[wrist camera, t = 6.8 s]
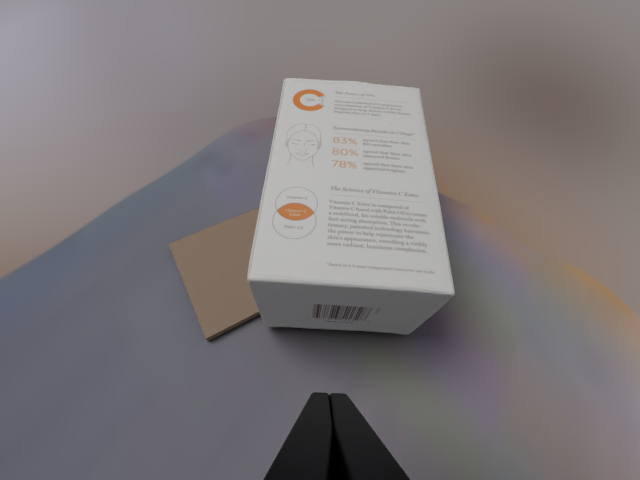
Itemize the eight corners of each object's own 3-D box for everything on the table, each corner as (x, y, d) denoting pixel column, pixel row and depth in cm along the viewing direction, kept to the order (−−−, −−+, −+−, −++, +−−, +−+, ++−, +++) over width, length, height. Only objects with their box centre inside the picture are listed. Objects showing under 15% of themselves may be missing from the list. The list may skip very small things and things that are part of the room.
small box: (409, 338, 17) (395, 163, 24) (460, 296, 12) (422, 84, 18) (260, 327, 17) (288, 154, 24) (240, 280, 12) (283, 73, 18)
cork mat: (393, 245, 21) (395, 241, 20) (208, 341, 17) (205, 338, 16) (340, 178, 23) (341, 174, 23) (171, 248, 20) (168, 244, 19)
